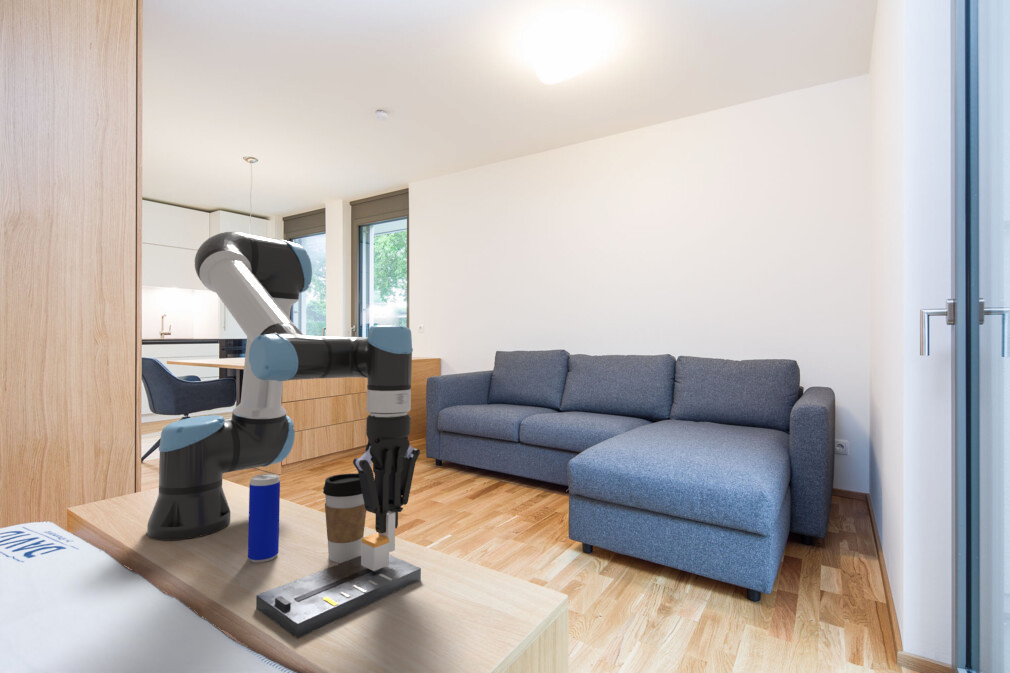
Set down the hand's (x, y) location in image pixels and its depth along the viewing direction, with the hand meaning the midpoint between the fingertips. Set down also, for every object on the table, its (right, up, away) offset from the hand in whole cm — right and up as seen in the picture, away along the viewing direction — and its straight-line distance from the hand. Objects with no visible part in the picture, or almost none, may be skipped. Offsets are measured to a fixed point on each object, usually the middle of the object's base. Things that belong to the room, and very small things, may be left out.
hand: (386, 549), depth 85 cm
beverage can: (-25, -4, +6) cm, 26 cm away
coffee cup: (-10, -5, +7) cm, 13 cm away
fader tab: (-1, -2, -2) cm, 3 cm away
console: (-5, -4, -7) cm, 9 cm away
